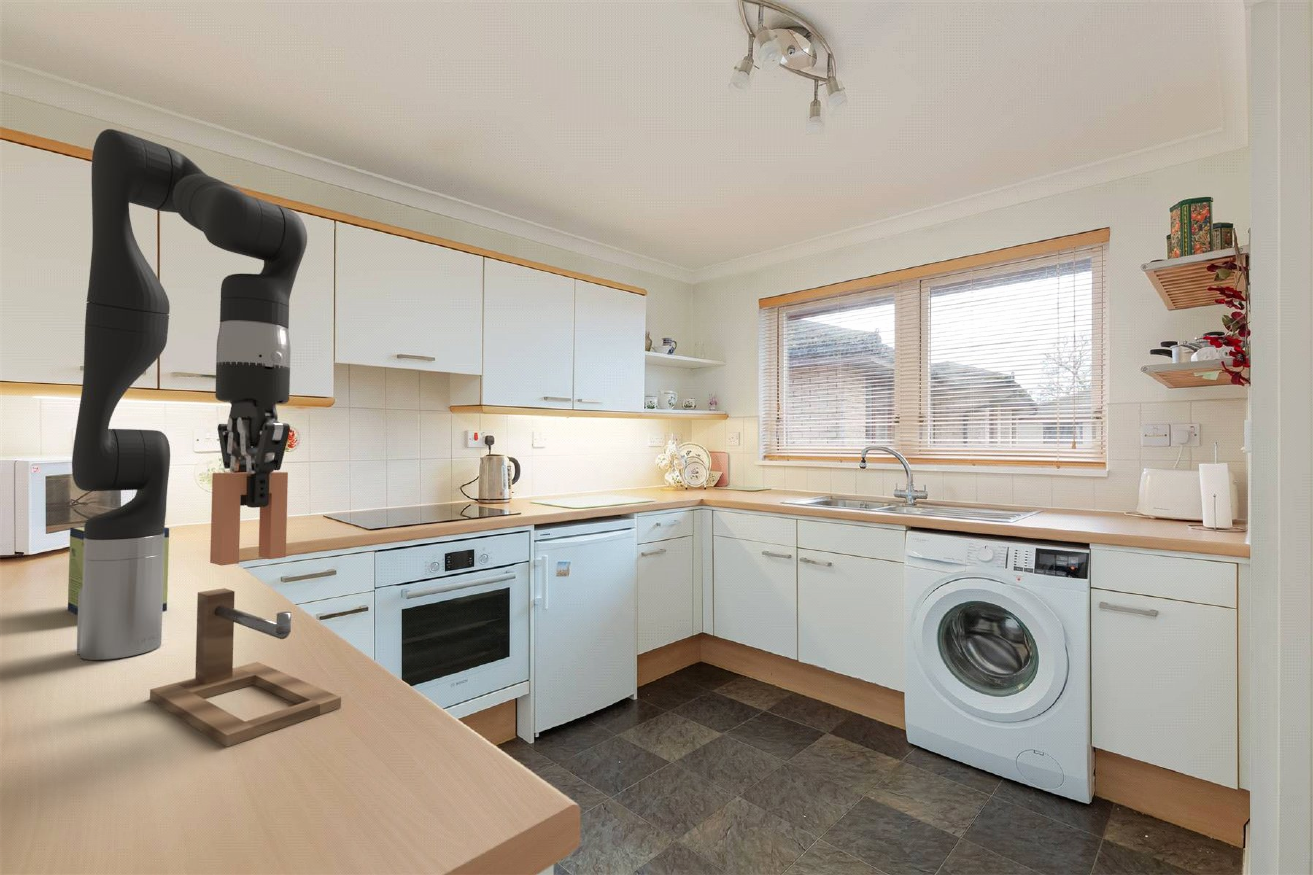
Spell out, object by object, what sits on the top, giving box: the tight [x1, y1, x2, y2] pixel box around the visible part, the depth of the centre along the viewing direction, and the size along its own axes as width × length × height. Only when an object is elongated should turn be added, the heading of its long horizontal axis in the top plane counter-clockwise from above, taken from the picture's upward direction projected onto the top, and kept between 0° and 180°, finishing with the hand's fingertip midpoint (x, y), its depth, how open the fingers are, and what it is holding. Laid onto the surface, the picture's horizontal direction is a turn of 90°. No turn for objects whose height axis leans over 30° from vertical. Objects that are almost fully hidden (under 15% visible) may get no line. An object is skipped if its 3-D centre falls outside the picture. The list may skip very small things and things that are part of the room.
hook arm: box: [215, 605, 292, 640], centre depth 74 cm, size 17×1×3 cm, turn 56°
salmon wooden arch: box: [209, 471, 289, 566], centre depth 75 cm, size 7×3×10 cm, turn 146°
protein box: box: [67, 525, 170, 615], centre depth 115 cm, size 10×16×16 cm
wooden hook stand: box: [149, 587, 342, 748], centre depth 75 cm, size 21×12×12 cm, turn 56°
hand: (250, 505), depth 75 cm, fingers closed on salmon wooden arch, 3 cm apart
